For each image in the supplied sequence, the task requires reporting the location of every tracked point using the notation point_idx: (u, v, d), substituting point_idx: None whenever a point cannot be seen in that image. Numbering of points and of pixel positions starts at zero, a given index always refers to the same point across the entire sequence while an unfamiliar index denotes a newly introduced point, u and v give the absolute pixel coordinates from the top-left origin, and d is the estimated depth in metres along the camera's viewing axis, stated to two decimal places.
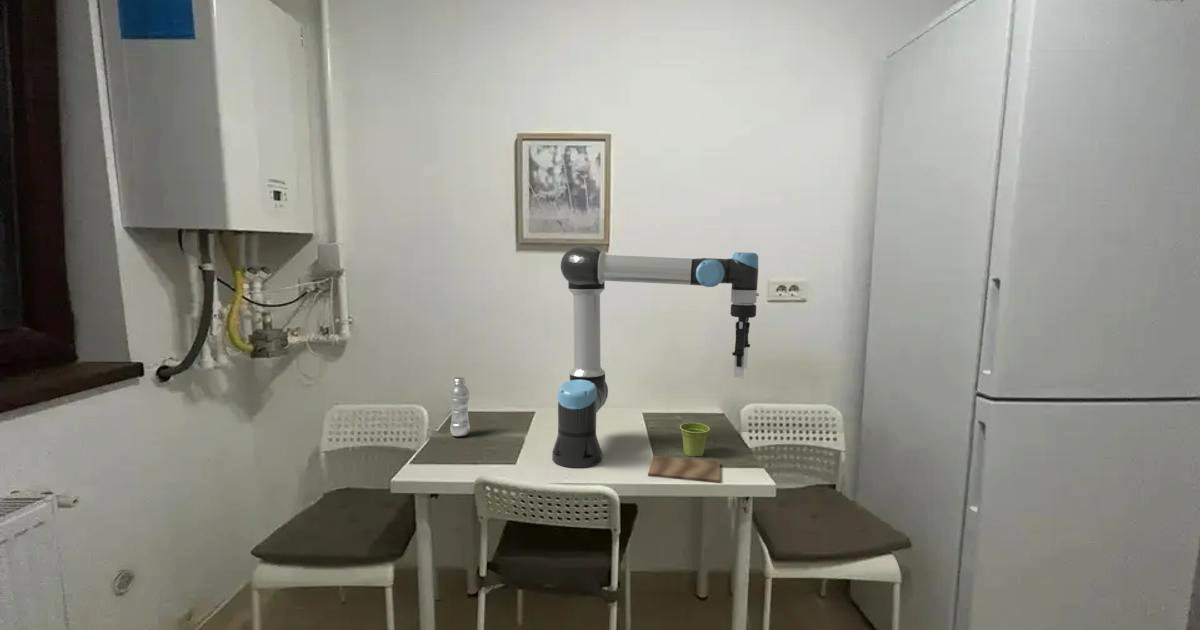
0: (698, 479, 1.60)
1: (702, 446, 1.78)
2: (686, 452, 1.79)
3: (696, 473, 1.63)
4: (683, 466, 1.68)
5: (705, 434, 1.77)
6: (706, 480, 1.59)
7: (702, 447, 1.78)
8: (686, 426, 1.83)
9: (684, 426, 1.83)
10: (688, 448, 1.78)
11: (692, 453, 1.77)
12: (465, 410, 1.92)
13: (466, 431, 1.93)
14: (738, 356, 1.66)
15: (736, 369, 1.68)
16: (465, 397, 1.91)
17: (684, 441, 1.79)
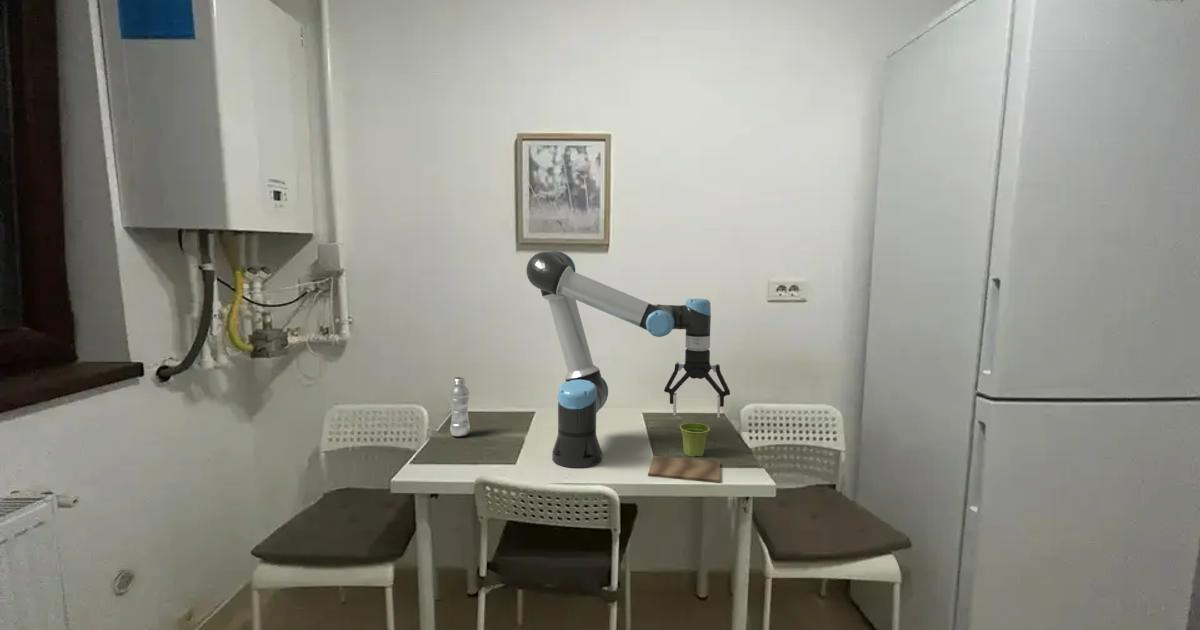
0: (698, 479, 1.60)
1: (702, 446, 1.78)
2: (686, 452, 1.79)
3: (696, 473, 1.63)
4: (683, 466, 1.68)
5: (705, 434, 1.77)
6: (706, 480, 1.59)
7: (702, 447, 1.78)
8: (686, 426, 1.83)
9: (684, 426, 1.83)
10: (688, 448, 1.78)
11: (692, 453, 1.77)
12: (465, 410, 1.92)
13: (466, 431, 1.93)
14: None
15: None
16: (465, 397, 1.91)
17: (684, 441, 1.79)
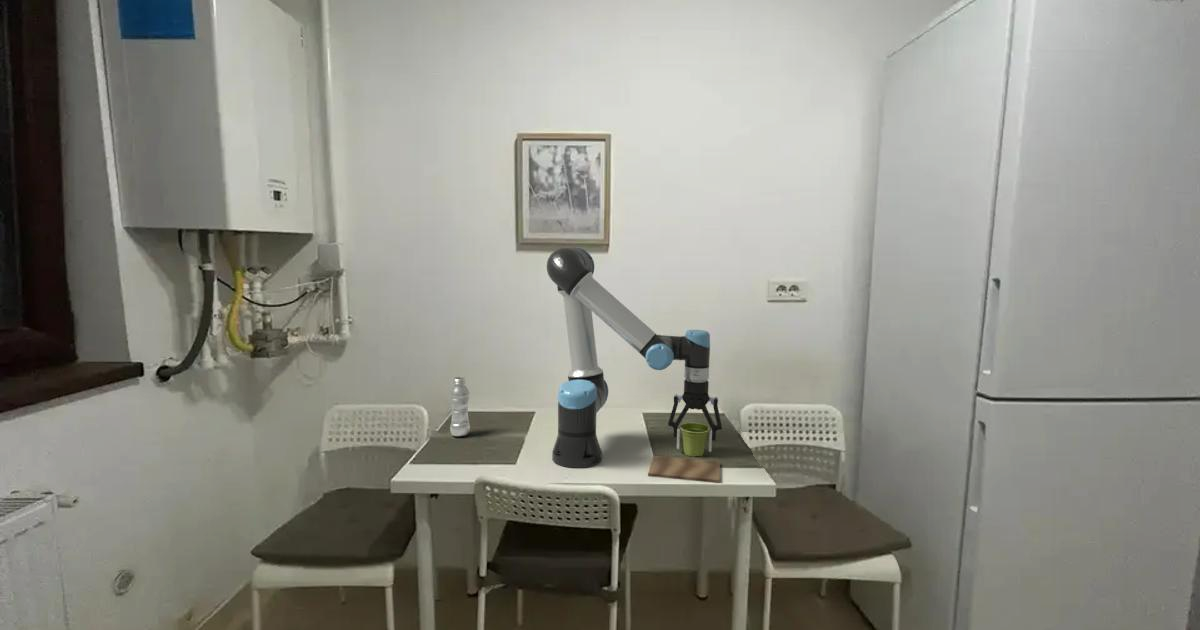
0: (698, 479, 1.60)
1: (702, 446, 1.78)
2: (686, 452, 1.79)
3: (696, 473, 1.63)
4: (683, 466, 1.68)
5: (705, 434, 1.77)
6: (706, 480, 1.59)
7: (702, 447, 1.78)
8: (686, 426, 1.83)
9: (684, 426, 1.83)
10: (688, 448, 1.78)
11: (692, 453, 1.77)
12: (465, 410, 1.92)
13: (466, 431, 1.93)
14: None
15: None
16: (465, 397, 1.91)
17: (684, 441, 1.79)
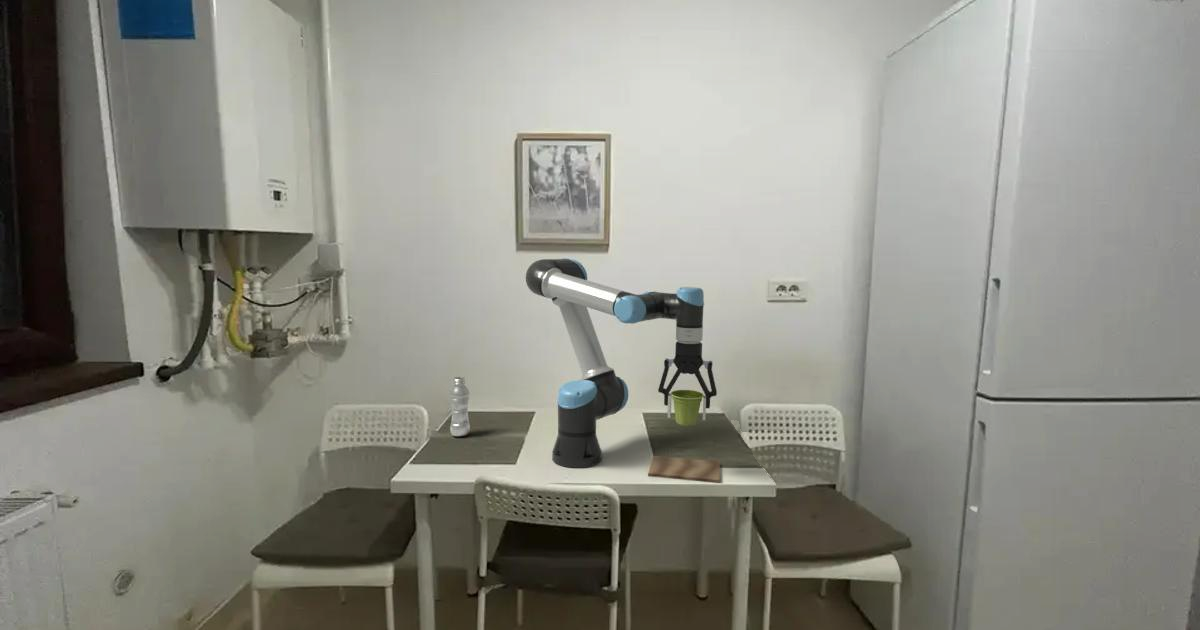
0: (698, 479, 1.60)
1: (695, 414, 1.63)
2: (678, 421, 1.64)
3: (696, 473, 1.63)
4: (683, 466, 1.68)
5: (698, 401, 1.62)
6: (706, 480, 1.59)
7: (695, 415, 1.63)
8: (678, 393, 1.68)
9: (676, 393, 1.68)
10: (680, 416, 1.63)
11: (685, 421, 1.62)
12: (465, 410, 1.92)
13: (466, 431, 1.93)
14: None
15: None
16: (465, 397, 1.91)
17: (676, 409, 1.64)
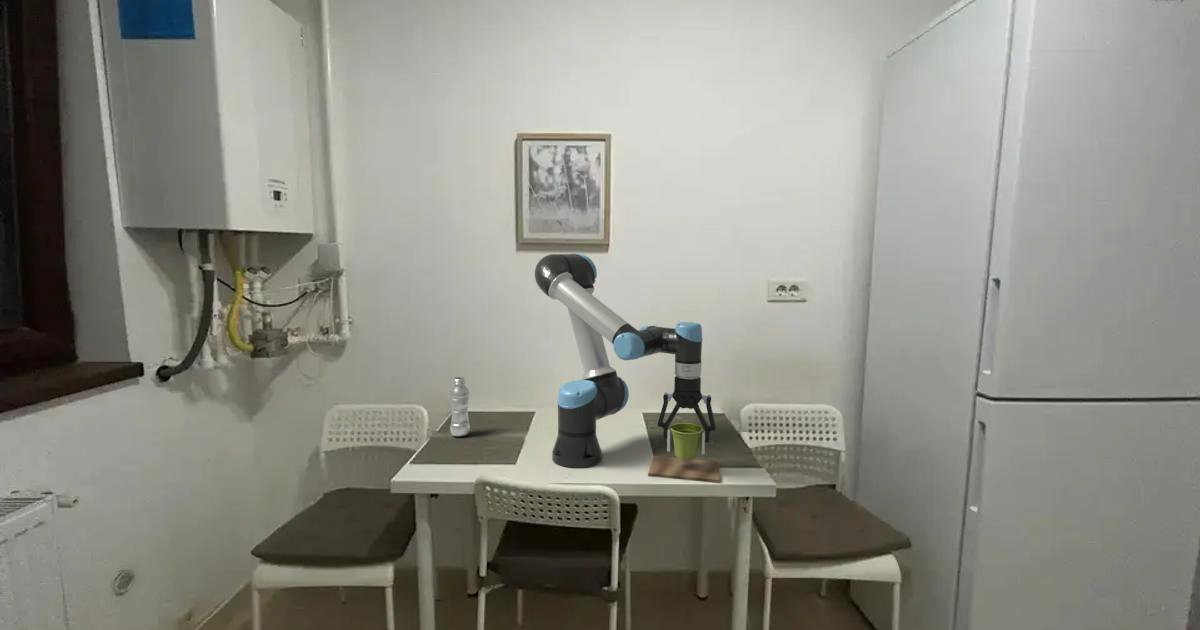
0: (698, 479, 1.60)
1: (694, 448, 1.64)
2: (677, 455, 1.65)
3: (696, 473, 1.63)
4: (683, 466, 1.68)
5: (697, 435, 1.63)
6: (706, 480, 1.59)
7: (694, 449, 1.64)
8: (678, 426, 1.70)
9: (675, 427, 1.69)
10: (679, 450, 1.64)
11: (684, 455, 1.64)
12: (465, 410, 1.92)
13: (466, 431, 1.93)
14: None
15: None
16: (465, 397, 1.91)
17: (675, 443, 1.65)
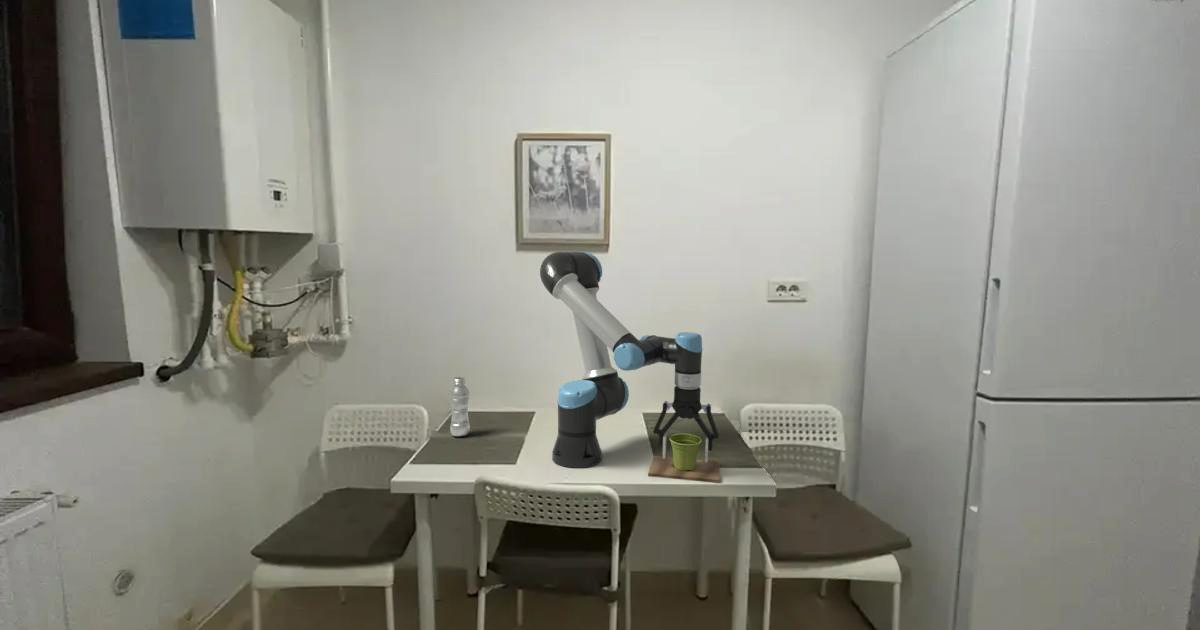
0: (698, 479, 1.60)
1: (693, 459, 1.64)
2: (676, 466, 1.65)
3: (696, 473, 1.63)
4: None
5: (696, 446, 1.63)
6: (706, 480, 1.59)
7: (693, 460, 1.64)
8: (677, 437, 1.70)
9: (674, 437, 1.69)
10: (678, 461, 1.64)
11: (683, 466, 1.64)
12: (465, 410, 1.92)
13: (466, 431, 1.93)
14: None
15: None
16: (465, 397, 1.91)
17: (674, 454, 1.65)
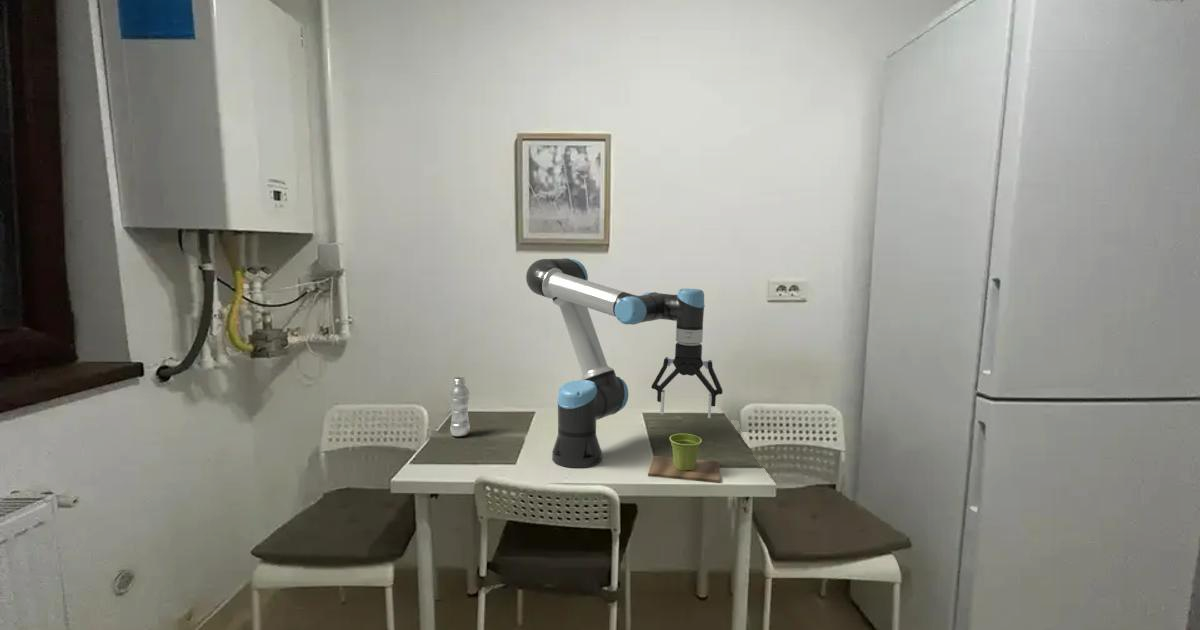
0: (698, 479, 1.60)
1: (693, 459, 1.64)
2: (676, 466, 1.65)
3: (696, 473, 1.63)
4: None
5: (697, 446, 1.63)
6: (706, 480, 1.59)
7: (693, 460, 1.64)
8: (677, 437, 1.70)
9: (674, 437, 1.69)
10: (678, 461, 1.64)
11: (683, 466, 1.64)
12: (465, 410, 1.92)
13: (466, 431, 1.93)
14: None
15: None
16: (465, 397, 1.91)
17: (674, 454, 1.65)
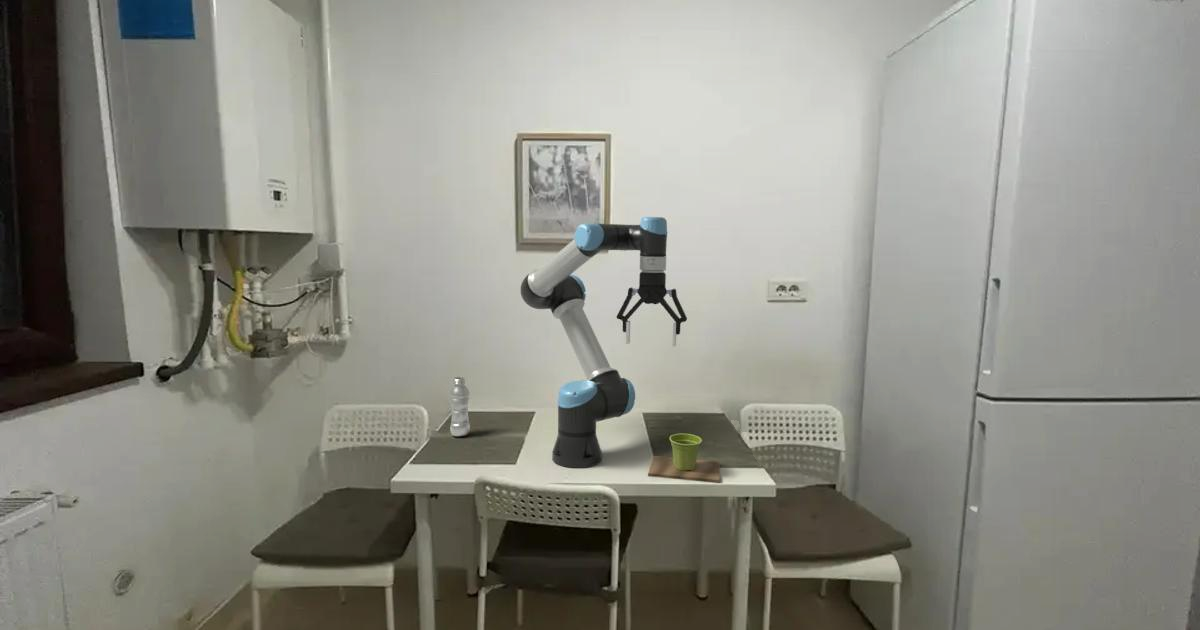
0: (698, 479, 1.60)
1: (693, 459, 1.64)
2: (676, 466, 1.65)
3: (696, 473, 1.63)
4: None
5: (697, 446, 1.63)
6: (706, 480, 1.59)
7: (693, 460, 1.64)
8: (677, 437, 1.70)
9: (674, 437, 1.69)
10: (678, 461, 1.64)
11: (683, 466, 1.64)
12: (465, 410, 1.92)
13: (466, 431, 1.93)
14: None
15: None
16: (465, 397, 1.91)
17: (674, 454, 1.65)
